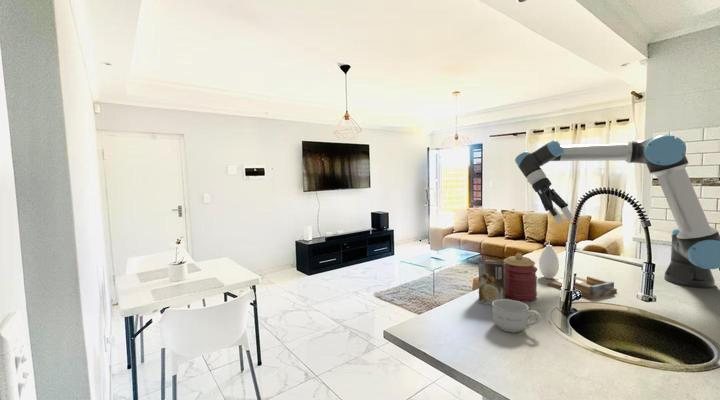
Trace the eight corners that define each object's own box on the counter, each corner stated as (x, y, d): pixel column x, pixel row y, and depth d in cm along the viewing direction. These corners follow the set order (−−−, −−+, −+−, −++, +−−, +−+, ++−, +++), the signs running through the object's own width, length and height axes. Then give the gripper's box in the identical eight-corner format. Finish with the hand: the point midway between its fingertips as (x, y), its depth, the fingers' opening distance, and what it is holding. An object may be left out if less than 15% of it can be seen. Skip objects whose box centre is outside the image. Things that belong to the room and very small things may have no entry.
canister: (544, 299, 126) (545, 254, 124) (519, 304, 121) (519, 259, 120) (518, 288, 138) (518, 247, 136) (494, 292, 133) (494, 251, 132)
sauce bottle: (554, 275, 152) (555, 238, 150) (561, 281, 144) (562, 241, 143) (536, 275, 154) (537, 238, 152) (542, 280, 146) (543, 241, 144)
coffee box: (503, 300, 126) (504, 260, 124) (504, 306, 120) (504, 264, 119) (479, 297, 129) (478, 258, 128) (478, 303, 123) (478, 262, 122)
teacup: (485, 327, 105) (485, 303, 104) (502, 317, 112) (503, 294, 111) (529, 344, 94) (529, 318, 93) (545, 332, 101) (545, 307, 100)
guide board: (573, 279, 146) (573, 269, 146) (616, 292, 129) (617, 281, 129) (547, 284, 141) (547, 274, 140) (589, 299, 124) (589, 288, 123)
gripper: (543, 186, 160) (568, 223, 151) (519, 185, 144) (547, 227, 136) (557, 177, 155) (584, 215, 146) (534, 176, 139) (564, 218, 131)
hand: (566, 221), depth 141 cm, fingers open, 13 cm apart
